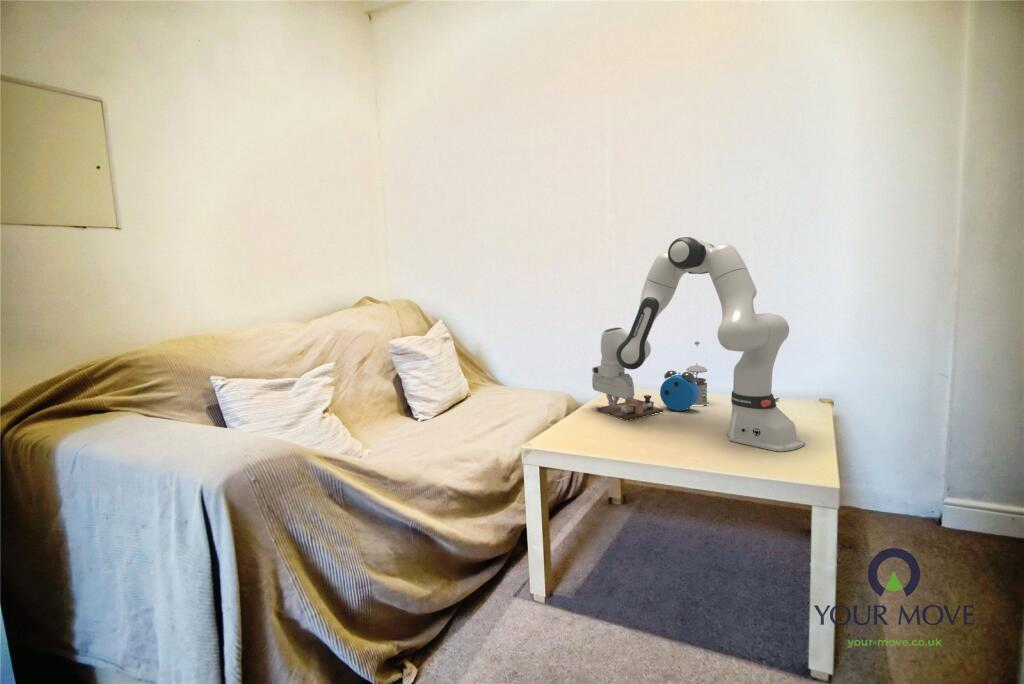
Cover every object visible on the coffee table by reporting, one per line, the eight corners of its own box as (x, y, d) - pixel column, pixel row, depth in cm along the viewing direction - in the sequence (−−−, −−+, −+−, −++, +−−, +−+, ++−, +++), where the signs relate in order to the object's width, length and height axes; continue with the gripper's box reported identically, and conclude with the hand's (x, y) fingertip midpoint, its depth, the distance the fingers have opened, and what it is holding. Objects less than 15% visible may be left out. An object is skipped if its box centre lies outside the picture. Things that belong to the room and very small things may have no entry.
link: (647, 405, 204) (647, 394, 204) (655, 407, 201) (656, 396, 200) (619, 411, 197) (619, 399, 197) (627, 413, 194) (627, 402, 193)
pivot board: (662, 412, 200) (663, 409, 199) (627, 420, 191) (627, 417, 190) (632, 403, 214) (632, 400, 214) (597, 410, 205) (597, 407, 205)
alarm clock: (698, 410, 201) (699, 371, 199) (693, 414, 196) (693, 374, 194) (665, 405, 209) (665, 368, 207) (659, 409, 204) (659, 371, 202)
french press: (684, 406, 207) (685, 343, 204) (681, 398, 218) (682, 338, 215) (711, 406, 205) (712, 342, 201) (707, 399, 216) (708, 338, 213)
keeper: (644, 412, 196) (644, 401, 195) (638, 414, 194) (638, 402, 193) (631, 409, 201) (631, 397, 201) (625, 410, 200) (625, 399, 199)
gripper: (638, 373, 193) (638, 410, 195) (601, 365, 210) (602, 399, 212) (625, 376, 189) (625, 413, 192) (589, 367, 207) (589, 401, 209)
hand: (612, 406), depth 202 cm, fingers closed
